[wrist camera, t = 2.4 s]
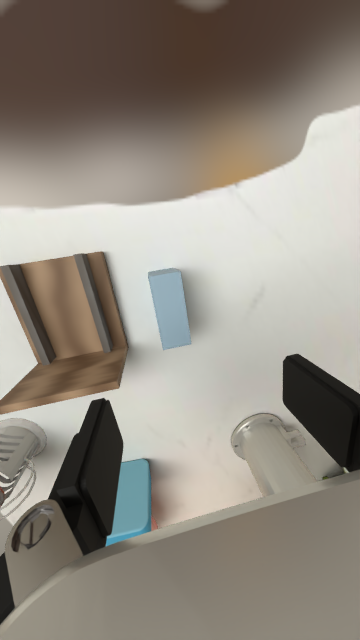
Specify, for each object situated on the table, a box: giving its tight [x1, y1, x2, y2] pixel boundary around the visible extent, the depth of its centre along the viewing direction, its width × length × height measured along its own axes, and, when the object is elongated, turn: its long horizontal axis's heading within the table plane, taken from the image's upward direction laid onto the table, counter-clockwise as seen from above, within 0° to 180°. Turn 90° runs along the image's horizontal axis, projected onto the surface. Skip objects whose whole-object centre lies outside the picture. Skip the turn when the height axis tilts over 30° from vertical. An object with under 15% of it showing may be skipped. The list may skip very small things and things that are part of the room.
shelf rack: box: [0, 252, 128, 414], centre depth 26 cm, size 14×16×12 cm
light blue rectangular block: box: [148, 268, 191, 350], centre depth 30 cm, size 4×10×8 cm, turn 9°
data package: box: [106, 459, 151, 546], centre depth 38 cm, size 12×4×12 cm, turn 94°
